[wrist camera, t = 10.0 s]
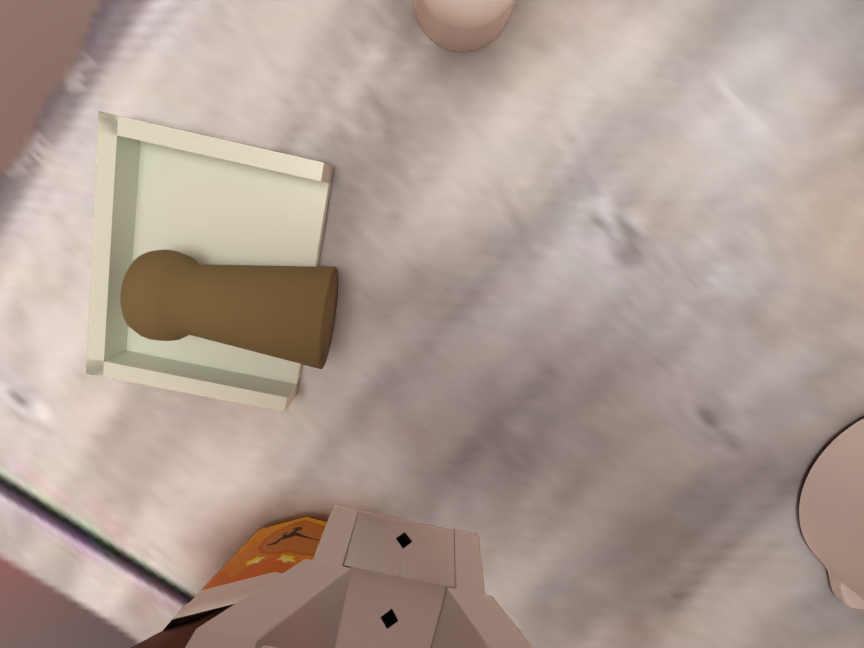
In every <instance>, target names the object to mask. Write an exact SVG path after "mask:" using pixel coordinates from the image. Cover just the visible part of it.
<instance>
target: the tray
mask: <svg viewBox="0 0 864 648" xmlns="http://www.w3.org/2000/svg"><path fill="white" fill-rule="evenodd" d="M333 171H334V166H331V165H328V164H326V163H323V162H318V161H314V160H309V159H305V158H301V157H296V156H292V155H288V154H283V153H279V152H275V151H270V150H266V149H261V148H257V147H253V146H248V145H244V144H240V143H235V142H231V141H227V140H222V139H218V138H213V137H209V136H205V135H200V134H196V133H192V132H187V131H183V130H179V129H174V128H170V127H165V126H161V125H157V124H152V123H148V122H144V121H139V120H135V119H131V118H126V117H122V116H117V115H113V114H109V113H104V112H100V111H99V117H98V138H97V158H96V179H95V200H94V221H93V241H92V262H91V283H90V303H89V324H88V345H87V365H86V373H87V374H92V375H97V376H102V377H107V378H112V379H117V380H122V381H127V382H133V383H138V384H143V385H148V386H153V387H158V388H163V389H168V390H173V391H179V392H184V393H189V394H194V395H199V396H204V397H209V398H214V399H220V400H225V401H230V402H235V403H240V404H245V405H250V406H255V407H260V408H266V409H271V410H276V411H281V412H285V411H286V409H287V408H288V406H289V405H290V404H291V402H292V401H293V399H294V398H295V396H296V395H297V392H298V386H299V380H300V374H301V368H302V364H300V363H296V362H292V361H288V360H284V359H281V358H277V357H273V356H269V355H265V354H261V353H257V352H254V351H250V350H246V349H242V348H238V347H234V346H231V345H227V344H223V343H219V342H215V341H211V340H208V339H204V338H200V337H196V336H192V335H188V336H186V337H184V338H182V339H180V340H173V341H159V340H150V339H148V338H145V337H142V336H140V335H139V334H138V333H136V332H135V331H134V330H133V329H131V328H130V327H129V326H128V325H127V323H126V321H125V319H124V318H123V314H122V309H121V304H120V293H121V287H122V282H123V279H124V277H125V274H126V272H127V270H128V269H129V267H130V265H131V264H132V262H133V261H134V260H135V259H136V258H137V257H139V256H140V255H142V254H145V253H147V252H150V251H155V250H165V249H166V250H173V251H178V252H180V253H183V254H185V255H188V256H190V257H192V258H193V259H194V260H196V261H197V262H198V263H199V264H208V265H260V266H311V267H318V263H319V257H320V251H321V245H322V239H323V232H324V226H325V220H326V214H327V208H328V202H329V196H330V189H331V183H332V177H333Z"/></svg>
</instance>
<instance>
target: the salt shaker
mask: <svg viewBox="0 0 864 648" xmlns="http://www.w3.org/2000/svg"><path fill="white" fill-rule="evenodd" d="M515 2H516V0H413V6H414V11H415V15H416V17H417V20H418V22H419V24H420V26H421V28H422V29H423V31H424V33H425V34H426V35H427V36H428V37H429V38H430V39H431V40H432V41H433V42H434V43H436V44H437V45H439V46H440V47H442V48H445V49H447V50H450V51H455V52H470V51H474V50H477V49H480V48H482V47H484V46H486V45H487V44H489V43H490V42H491V41H493V40H494V39H495V38H496V37H497V36H498V35H499V33H500V32H501V31H502V29H503V28H504V26H505V24H506V22H507V20H508V18H509V15H510V13H511V11H512V9H513V6H514V4H515Z"/></svg>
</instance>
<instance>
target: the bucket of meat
mask: <svg viewBox="0 0 864 648" xmlns="http://www.w3.org/2000/svg"><path fill="white" fill-rule="evenodd" d="M326 524H327V522H325V521H321V520H317V519H313V518H309V517H304V518H300V519H296V520H292V521H288V522H285V523H281V524H277V525H273V526H269V527H265V528H261V529H259V530H258V531H257V532H256V533H255V534H254V535H253V536H252V537H251V538H250V539H249V540H248V541H247V543H246V544H245V545H244V546H243V547H242V548H241V549H240V550H239V551H238V552H237V553H236V554H235V555H234V556H233V557H232V558H231V559H230V561H229V562H228V563H227V564H226V565H225V566H224V567H223V568H222V569H221V570H220V571H219V572H218V573H217V574H216V575H215V576H214V577H213V578H212V580H211V581H210V582H209V583H208V584H207V585H206V586H205V587H204V588H203V589H202V590H201V591H200V592H199V593H198V594H197V595H196V596H195V597H194V599H193V600H192V601H191V602H189V603H187V604H186V605H184V606H183V608H182V609H181V610H180V611H179V612H178V614H177V615H176V616H175V617H174V618H173V619H172V621H171V622H170V623H169V624H168V625H167V626H166V628H165V629H164V630H163V631H161V632H160V633H158V634H156V635H154V636H152V637H150V638H148V639H146V640H145V641H143V642H141V643H139V644H137V645H135V646H134V647H131V648H185V647H186V645H187V644H188V642H189V640H190V639H191V637H192V635H193V633H194V632H195V630H196V629H197V628H198V627H200V626H201V625H203V624H205V623H206V622H208V621H209V620H211V619H212V618H214V617H215V616H217V615H219V614H220V613H222V612H223V611H225V610H226V609H228V608H230V607H231V606H233V605H234V604H236V603H237V602H239V601H241V600H242V599H244V598H245V597H247V596H248V595H250V594H251V593H253V592H255V591H256V590H258V589H259V588H261V587H262V586H264V585H266V584H267V583H269V582H270V581H272V580H273V579H275V578H276V577H278V576H280V575H281V574H283V573H284V572H286V571H287V570H289V569H291V568H292V567H294V566H295V565H297V564H298V563H300V562H302V561H303V560H305V559H309V560H313V559H314V556H315V553H316V551H317V548H318V545H319V542H320V540H321V537H322V534H323V532H324V529H325V526H326Z"/></svg>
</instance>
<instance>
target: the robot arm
mask: <svg viewBox="0 0 864 648" xmlns="http://www.w3.org/2000/svg"><path fill="white" fill-rule="evenodd" d="M799 521H800V527H801V531H802V534H803V536H804V539H805V541H806V543H807V545H808V546H809V548H810V549H811V551H812V552H813V553H814V554H815V556H816V557H817V558H818V559H819V560H820V561H821V562H822V563H823V565H824V566H825V567H826V569H827V571H828V575H829V580H830V585H831V588H832V591H833V593H834V595H835V596H836V597H837V598H838V599H839V600H840V601H842V602H843V603H844V604H845V605H847V606H848V607H850V608H853V609H864V418H863V419H862V420H860V421H858V422H857V423H855V424H853V425H852V426H851V427H849V428H848V429H846V430H845V431H844V432H843V433H841V434H840V435H839V436H838V437H837V438H836V439H835V440H833V441H832V442H831V443H830V444H829V446H828V447H827V448H826V449H825V450H824V451H823V452H822V454H821V455H820V456H819V458H818V459H817V461H816V462H815V464H814V465H813V467H812V469H811V470H810V472H809V474H808V476H807V479H806V481H805V483H804V486H803V489H802V493H801V498H800V504H799ZM185 648H533V646H532V645H531V644H530V643H529V641H528V640H527V639H526V638H525V636H524V635H523V634H522V633H521V632H520V630H519V629H518V628H517V627H516V625H515V624H514V623H513V622H512V620H511V619H510V618H509V617H508V615H507V614H506V613H505V612H504V610H503V609H502V608H501V607H500V605H499V604H498V603H497V602H496V600H495V599H494V598H493V597H492V596H488V595H485V590H484V580H483V571H482V561H481V551H480V542H479V536H478V534H477V533H474V532H468V531H462V530H456V529H453V530H451V529H446V528H441V527H436V526H431V525H426V524H421V523H416V522H411V521H406V520H403V519H399V518H395V517H390V516H386V515H381V514H377V513H373V512H368V511H364V510H358V509H354V508H350V507H345V506H340V505H334V507H333V508H332V510H331V513H330V515H329V518H328V521H327V524H326V526H325V529H324V532H323V534H322V537H321V540H320V542H319V545H318V548H317V551H316V553H315V556H314V559H313V560H309V559H305V560H303V561H302V562H300V563H298V564H297V565H295V566H294V567H292V568H291V569H289V570H287V571H286V572H284V573H283V574H281V575H280V576H278V577H276V578H275V579H273V580H272V581H270V582H269V583H267V584H266V585H264V586H262V587H261V588H259V589H258V590H256V591H255V592H253V593H251V594H250V595H248V596H247V597H245V598H244V599H242V600H241V601H239V602H237V603H236V604H234V605H233V606H231V607H230V608H228V609H226V610H225V611H223V612H222V613H220V614H219V615H217V616H215V617H214V618H212V619H211V620H209V621H208V622H206V623H205V624H203V625H201V626H200V627H198V628H197V629H196V630H195V632H194V633H193V635H192V637H191V639H190V640H189V642H188V644H187V645H186V647H185Z"/></svg>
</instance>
